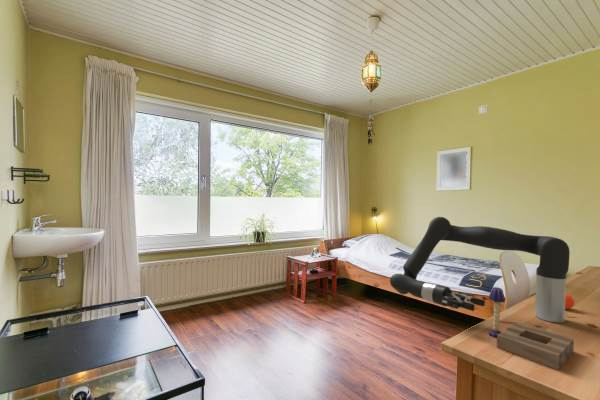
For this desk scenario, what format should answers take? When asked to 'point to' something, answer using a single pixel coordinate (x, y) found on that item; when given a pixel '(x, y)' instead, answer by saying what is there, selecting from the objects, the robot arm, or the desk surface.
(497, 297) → the toy lamp
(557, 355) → the socket block
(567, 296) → the clementine
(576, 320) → the desk surface
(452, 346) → the desk surface
